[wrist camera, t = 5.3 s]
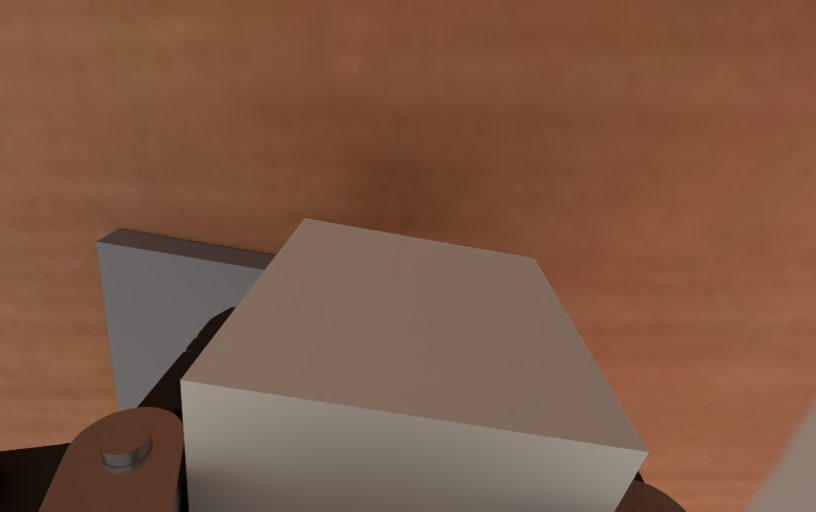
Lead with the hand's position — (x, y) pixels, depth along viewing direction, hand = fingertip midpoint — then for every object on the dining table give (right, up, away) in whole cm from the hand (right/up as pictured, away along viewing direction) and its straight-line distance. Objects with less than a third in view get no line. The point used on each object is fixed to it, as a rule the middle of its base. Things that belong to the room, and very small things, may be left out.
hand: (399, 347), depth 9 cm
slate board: (-10, -4, +19) cm, 22 cm away
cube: (0, 0, +1) cm, 0 cm away
